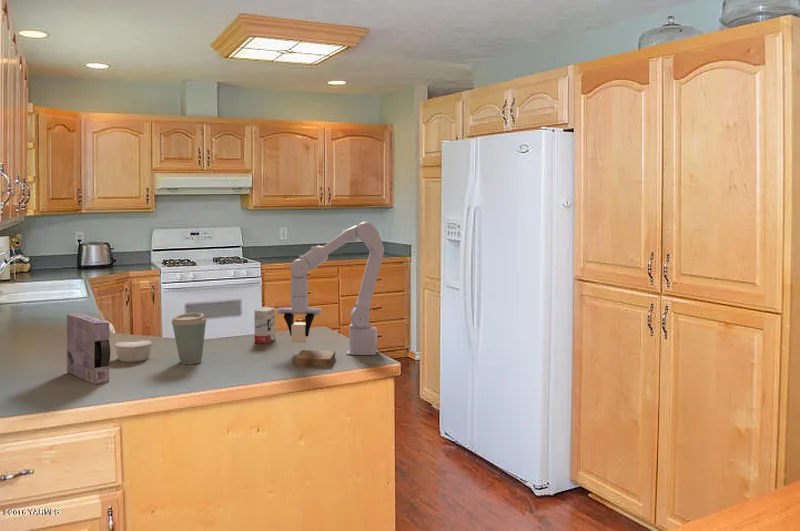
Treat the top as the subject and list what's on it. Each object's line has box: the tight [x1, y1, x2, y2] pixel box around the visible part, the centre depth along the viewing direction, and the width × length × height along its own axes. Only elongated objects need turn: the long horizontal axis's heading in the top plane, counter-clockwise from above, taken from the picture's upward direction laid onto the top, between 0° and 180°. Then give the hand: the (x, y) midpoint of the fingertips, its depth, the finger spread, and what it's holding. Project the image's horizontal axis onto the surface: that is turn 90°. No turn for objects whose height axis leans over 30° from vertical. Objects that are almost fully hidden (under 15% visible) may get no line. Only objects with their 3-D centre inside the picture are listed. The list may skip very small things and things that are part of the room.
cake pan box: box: [66, 312, 111, 386], centre depth 201 cm, size 19×5×18 cm, turn 48°
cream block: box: [290, 321, 309, 344], centre depth 233 cm, size 4×4×6 cm
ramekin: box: [114, 339, 153, 363], centre depth 224 cm, size 11×11×5 cm
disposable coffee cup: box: [171, 312, 207, 365], centre depth 220 cm, size 11×11×15 cm
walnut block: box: [294, 349, 336, 368], centre depth 222 cm, size 11×11×3 cm
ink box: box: [254, 306, 276, 345], centre depth 251 cm, size 9×5×12 cm, turn 168°
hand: (299, 335), depth 234 cm, fingers closed on cream block, 4 cm apart
